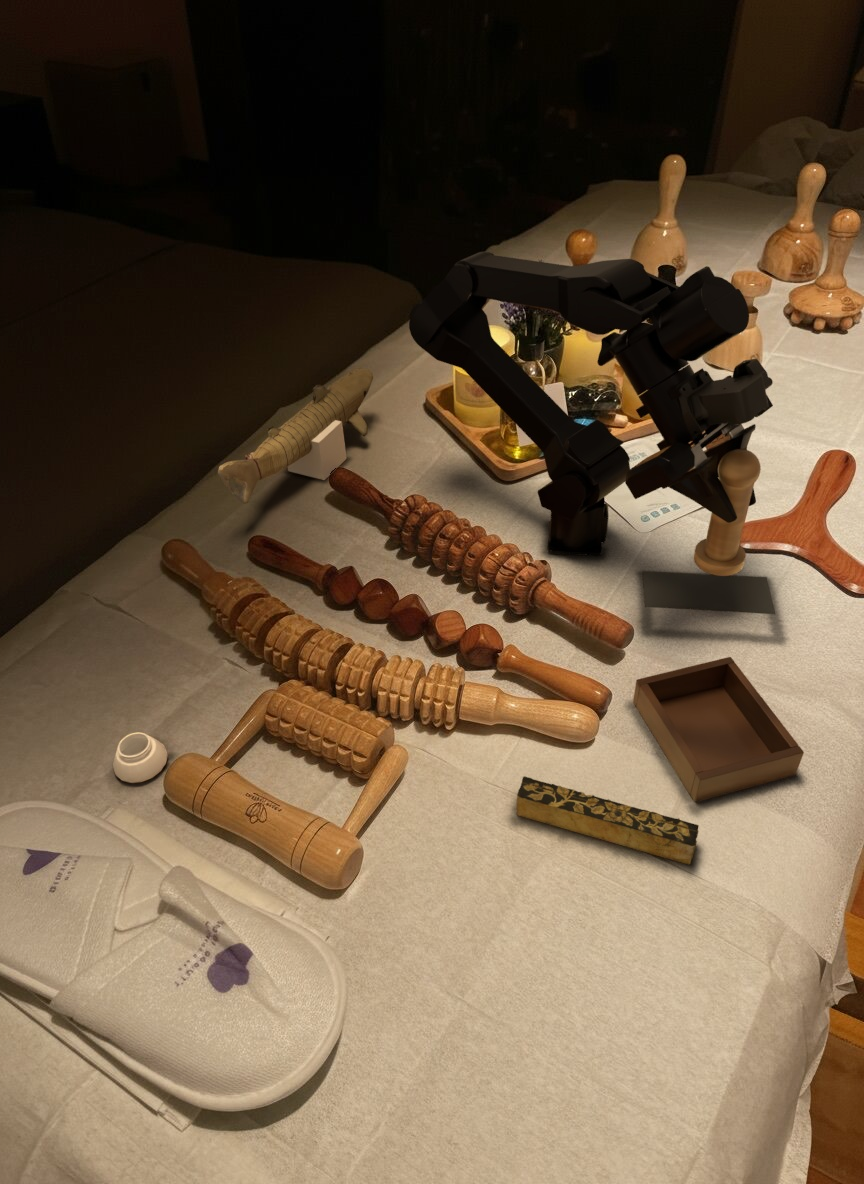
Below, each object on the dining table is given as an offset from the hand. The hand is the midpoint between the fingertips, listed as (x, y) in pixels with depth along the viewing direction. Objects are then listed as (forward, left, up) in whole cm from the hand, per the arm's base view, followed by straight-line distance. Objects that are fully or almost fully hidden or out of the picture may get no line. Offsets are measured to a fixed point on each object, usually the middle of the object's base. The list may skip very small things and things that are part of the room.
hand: (742, 513), depth 88 cm
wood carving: (-53, +25, -14) cm, 60 cm away
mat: (-1, +1, -13) cm, 14 cm away
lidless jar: (-57, -27, -14) cm, 65 cm away
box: (-3, -19, -13) cm, 23 cm away
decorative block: (-13, -30, -14) cm, 36 cm away
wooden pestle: (-1, +1, -7) cm, 7 cm away
